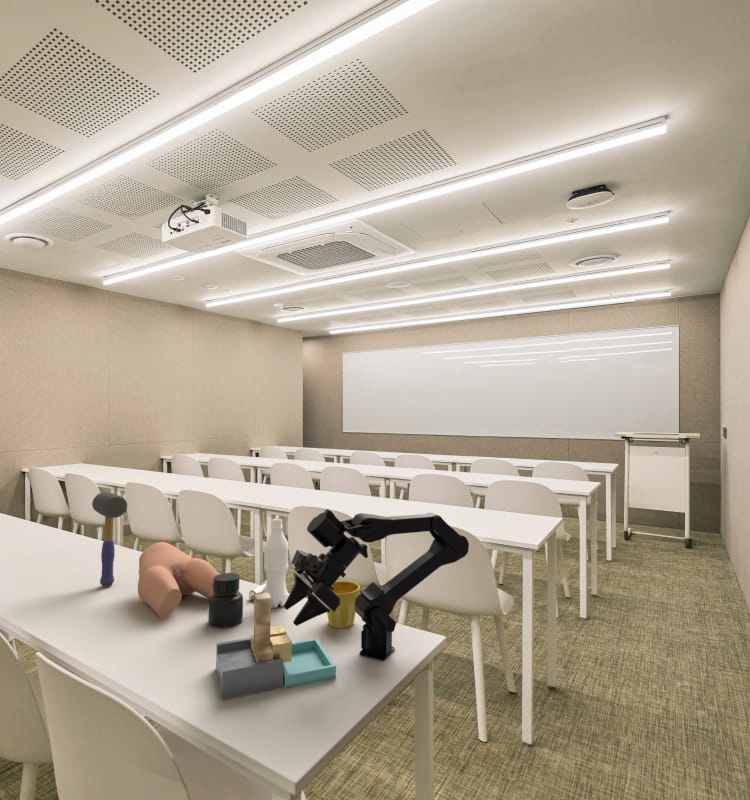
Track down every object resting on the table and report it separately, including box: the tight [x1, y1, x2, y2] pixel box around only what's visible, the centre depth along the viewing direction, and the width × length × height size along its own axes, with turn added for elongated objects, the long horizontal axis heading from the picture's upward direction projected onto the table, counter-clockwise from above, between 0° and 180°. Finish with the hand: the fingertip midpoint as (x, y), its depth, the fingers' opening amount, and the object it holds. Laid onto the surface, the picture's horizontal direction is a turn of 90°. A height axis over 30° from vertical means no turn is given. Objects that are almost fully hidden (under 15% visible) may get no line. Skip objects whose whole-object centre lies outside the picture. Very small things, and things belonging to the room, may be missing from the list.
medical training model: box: [137, 541, 220, 620], centre depth 147 cm, size 21×25×13 cm
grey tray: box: [215, 637, 284, 701], centre depth 103 cm, size 12×13×6 cm
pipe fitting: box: [248, 580, 266, 601], centre depth 150 cm, size 8×4×7 cm
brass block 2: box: [270, 633, 293, 663], centre depth 104 cm, size 4×4×4 cm
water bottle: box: [263, 518, 290, 609], centre depth 144 cm, size 7×7×25 cm
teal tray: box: [283, 638, 337, 689], centre depth 108 cm, size 11×14×2 cm
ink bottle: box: [207, 572, 244, 628], centre depth 132 cm, size 10×9×12 cm
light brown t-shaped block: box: [250, 593, 273, 663], centre depth 105 cm, size 3×9×12 cm, turn 23°
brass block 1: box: [270, 625, 288, 637], centre depth 108 cm, size 4×4×4 cm
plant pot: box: [326, 580, 361, 629], centre depth 131 cm, size 10×10×10 cm
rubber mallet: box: [91, 491, 128, 588], centre depth 158 cm, size 12×8×30 cm, turn 48°
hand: (289, 616), depth 107 cm, fingers open, 9 cm apart
